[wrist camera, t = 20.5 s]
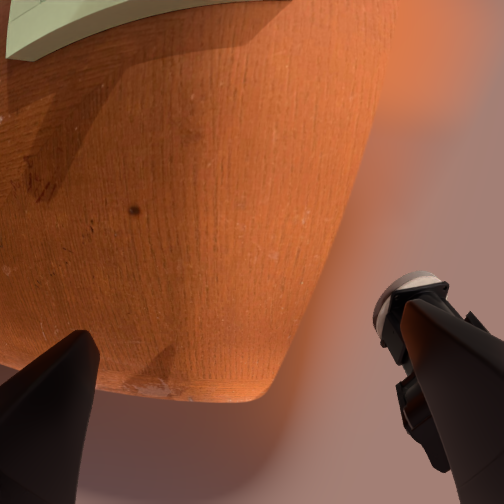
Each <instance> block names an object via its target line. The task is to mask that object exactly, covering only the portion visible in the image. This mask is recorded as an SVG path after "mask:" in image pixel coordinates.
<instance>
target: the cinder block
mask: <svg viewBox="0 0 504 504" xmlns="http://www.w3.org/2000/svg"><path fill="white" fill-rule="evenodd" d="M242 1H261V0H12V1H11V7H10V14H9V22H8V23H9V24H8V31H7V44H6V59H15V60H24V61H32V62H34V61H36V60H38V59H40V58H42V57H44V56H45V55H47V54H49V53H51V52H54V51H56V50H58V49H60V48H62V47H64V46H66V45H69V44H71V43H73V42H75V41H78V40H80V39H83V38H85V37H88V36H90V35H93V34H95V33H98V32H101V31H103V30H106V29H109V28H112V27H115V26H118V25H121V24H124V23H128V22H131V21H135V20H138V19H142V18H145V17H149V16H153V15H157V14H162V13H166V12H171V11H176V10H181V9H186V8H192V7H198V6H205V5H212V4H220V3H230V2H242Z"/></svg>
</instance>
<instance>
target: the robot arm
mask: <svg viewBox="0 0 504 504" xmlns="http://www.w3.org/2000/svg"><path fill="white" fill-rule="evenodd" d="M448 289H449V284H448V283H447V282H445V281H444V282H439V283H433V284H428V285H423V286H417V287H412V288H406V289H400V290H396V291H394V292H393V293H392V294H391V297H390V302H389V307H388V312H387V314H386V316H385V321H384V325H383V330H382V334H381V336H382V338H381V342H380V343H381V346H382V347H383V348H386V347H388V349H389V351H390V353H391V355H392V356H393V358H394V360H395V362H396V364H397V365H398V366H400V365H402V366H403V368H404V370H405V372H406V374H407V377H406V378H405V379H404V380H403V381H402V382H399V383H398V384H397V385H396V390H397V396H398V400H399V405H400V410H401V415H402V420H403V425H404V428H405V429H406V431H407V433H408V434H409V435H411V437H412V438H413V439H414V440H415V441H416V442H418V443H420V444H421V445H422V447H423V448H424V450H425V452H426V454H427V455H428V458H429V460H430V462H431V464H432V466H433V467H434V468H435V469H437V470H438V471H440V472H442V473H446V472H447V471H449V470H451V471H452V474H453V478H454V481H455V484H456V488H457V492H458V496H459V500H460V504H504V341H502V340H500V339H498V338H497V337H495V336H493V335H491V334H490V333H489V331H488V330H487V329H486V328H485V327H484V326H483V325H482V323H481V322H480V321H479V320H478V319H477V318H476V317H475V316H474V314H473V313H472V312H471V311H470V312H469V313H468V314H467V315H466V318H465V319H463V318H462V317H461V316H460V315H459V314H458V312H457V311H456V310H455V309H454V308H453V307H452V306H451V305H450V303H449V302H448V301H447V300H446V296H447V293H448ZM397 295H398V296H397ZM396 296H397V297H396ZM99 361H100V353H99V350H98V348H97V346H96V344H95V342H94V340H93V338H92V336H91V334H90V333H89V332H88V331H87V330H75V331H74V332H72V333H71V334H69V335H68V336H67V337H65V338H64V339H62V340H61V341H60V342H58V343H57V344H55V345H54V346H53V347H51V348H50V349H49V350H47V351H46V352H45V353H43V354H42V355H40V356H39V357H38V358H36V359H35V360H34V361H32V362H31V363H30V364H28V365H27V366H26V367H24V368H23V369H22V370H20V371H19V372H18V373H16V374H15V375H14V376H13V377H11V378H10V379H9V380H8V381H6V382H5V383H3V384H2V385H1V386H0V504H75V501H76V492H77V484H78V477H79V470H80V464H81V458H82V451H83V446H84V441H85V436H86V431H87V426H88V422H89V417H90V412H91V409H92V404H93V399H94V392H95V385H96V379H97V372H98V366H99Z"/></svg>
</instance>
